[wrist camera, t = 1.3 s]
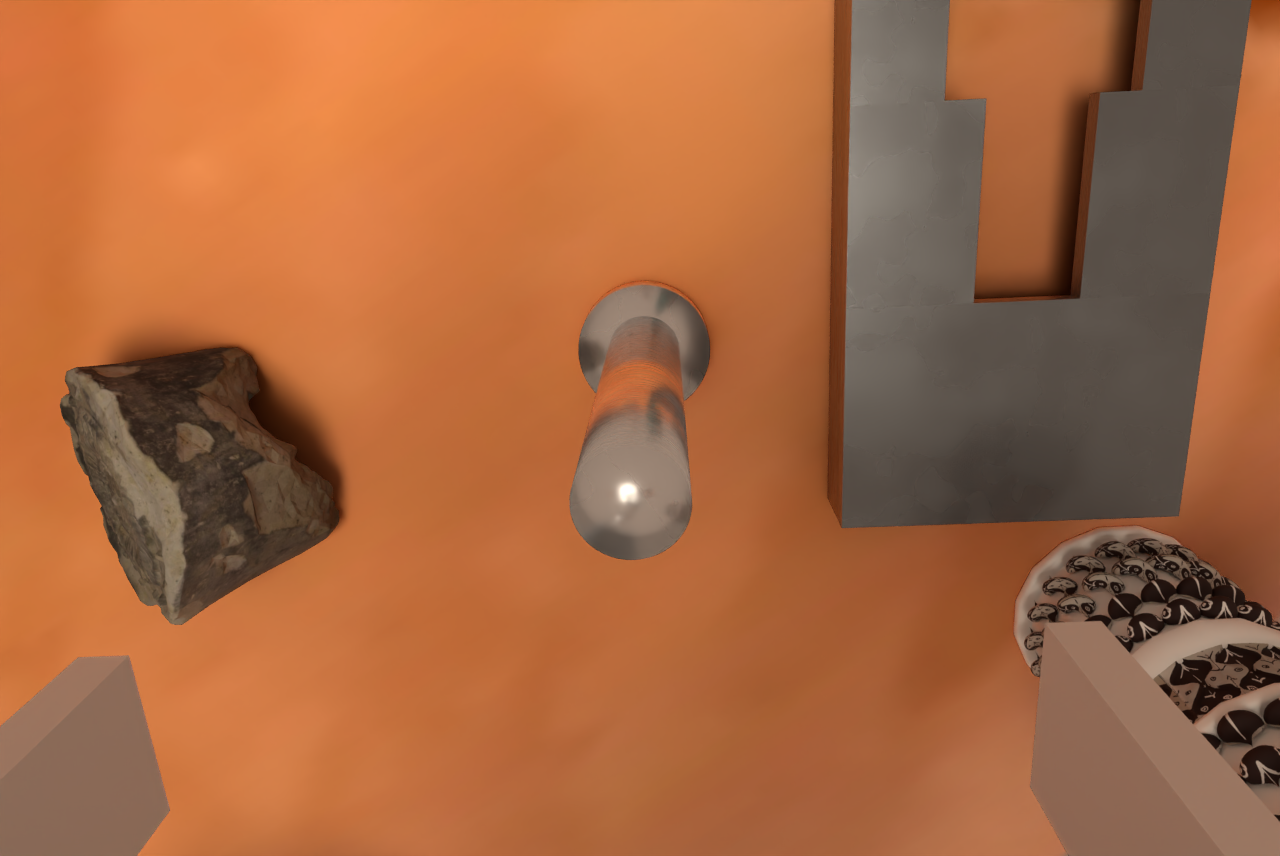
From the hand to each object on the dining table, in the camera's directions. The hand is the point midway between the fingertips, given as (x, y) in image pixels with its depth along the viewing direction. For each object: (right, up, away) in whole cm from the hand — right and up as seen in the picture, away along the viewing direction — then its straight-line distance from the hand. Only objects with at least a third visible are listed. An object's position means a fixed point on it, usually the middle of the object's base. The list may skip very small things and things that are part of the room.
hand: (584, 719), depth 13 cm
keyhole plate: (+15, +14, +21) cm, 29 cm away
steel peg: (+1, +8, +24) cm, 25 cm away
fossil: (-18, +3, +26) cm, 32 cm away
